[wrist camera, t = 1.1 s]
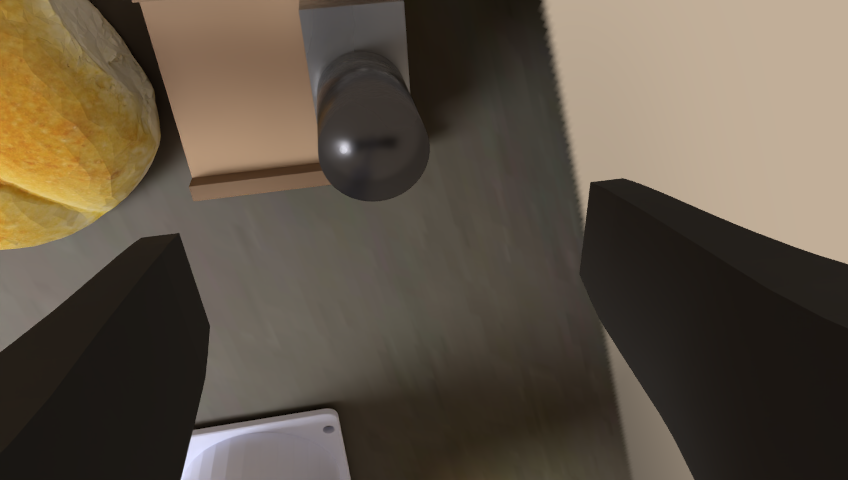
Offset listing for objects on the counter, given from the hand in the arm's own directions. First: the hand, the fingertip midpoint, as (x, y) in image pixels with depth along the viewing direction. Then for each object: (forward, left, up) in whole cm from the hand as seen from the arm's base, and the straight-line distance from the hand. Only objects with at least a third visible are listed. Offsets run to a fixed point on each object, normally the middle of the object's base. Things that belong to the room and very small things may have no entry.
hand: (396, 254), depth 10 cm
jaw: (+1, 0, -8) cm, 8 cm away
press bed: (+1, +2, -10) cm, 10 cm away
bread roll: (+1, +11, -11) cm, 15 cm away
